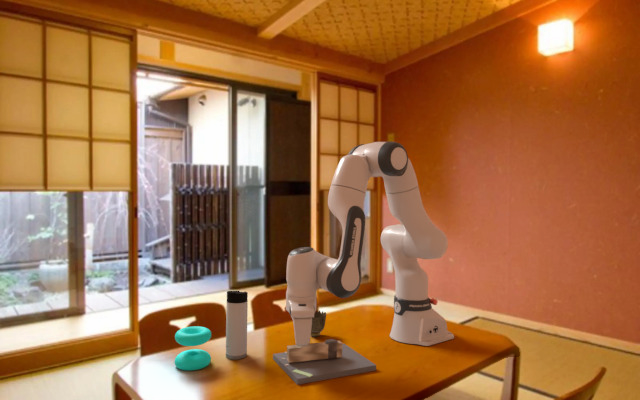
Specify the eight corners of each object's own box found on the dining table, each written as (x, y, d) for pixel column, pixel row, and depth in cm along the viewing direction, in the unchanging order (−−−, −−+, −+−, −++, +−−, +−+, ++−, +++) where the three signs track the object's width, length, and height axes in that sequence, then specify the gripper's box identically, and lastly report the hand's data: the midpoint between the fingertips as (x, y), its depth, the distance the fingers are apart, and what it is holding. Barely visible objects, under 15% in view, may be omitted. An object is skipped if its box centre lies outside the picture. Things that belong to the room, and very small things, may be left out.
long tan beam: (338, 353, 132) (338, 338, 132) (342, 357, 129) (343, 342, 129) (286, 358, 127) (286, 343, 127) (289, 363, 124) (289, 347, 124)
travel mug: (221, 358, 132) (222, 291, 131) (232, 350, 138) (233, 286, 138) (239, 361, 130) (240, 293, 129) (250, 353, 136) (251, 288, 135)
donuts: (194, 338, 119) (167, 332, 124) (193, 375, 120) (166, 367, 124) (218, 328, 128) (192, 323, 133) (218, 362, 129) (192, 356, 133)
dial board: (344, 348, 142) (344, 343, 142) (376, 370, 125) (376, 364, 125) (273, 359, 132) (273, 353, 132) (297, 385, 115) (297, 378, 114)
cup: (323, 340, 149) (324, 316, 149) (302, 338, 151) (302, 315, 151) (327, 333, 157) (328, 310, 157) (307, 331, 158) (307, 309, 158)
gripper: (289, 295, 139) (289, 339, 139) (291, 313, 118) (290, 364, 119) (309, 294, 139) (309, 338, 140) (314, 313, 119) (314, 364, 119)
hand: (300, 350), depth 129 cm, fingers closed
